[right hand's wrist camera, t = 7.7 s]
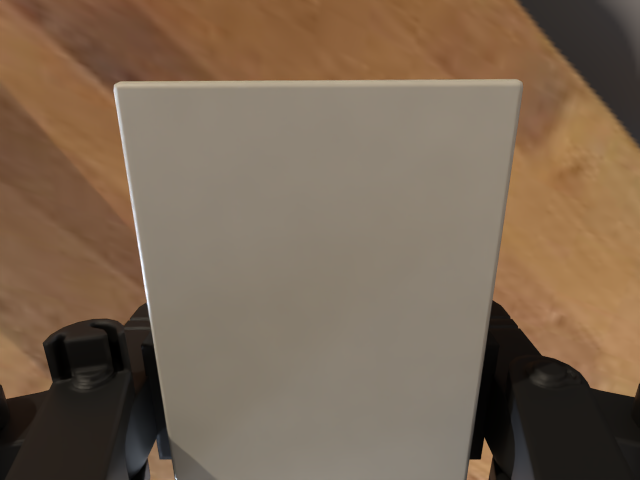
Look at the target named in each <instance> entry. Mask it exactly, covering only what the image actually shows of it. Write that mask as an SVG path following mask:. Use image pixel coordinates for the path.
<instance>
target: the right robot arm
mask: <svg viewBox="0 0 640 480" xmlns="http://www.w3.org/2000/svg"><path fill="white" fill-rule="evenodd" d="M43 346H44V350H45V354H46V358H47V362H48V365H49V369H50V373H51V377H52V381H53V383H52V385H51V387H50V389H49V390H48V391H44V392H40V393H35V394H30V395H25V396H20V397H15V398H10V399H6V398H5V394H4V391H3V388H2V386H1V385H0V480H150V470H149V464H148V458H147V457H148V455H149V453H150V451H151V449H152V447H153V444H154V442H155V440H157V446H158V452H159V458H160V459H172V457H171V451H170V444H169V438H168V432H167V425H166V419H165V413H164V406H163V400H162V394H161V387H160V381H159V375H158V368H157V362H156V356H155V349H154V343H153V337H152V330H151V324H150V317H149V311H148V305H147V303H145V304H143V305H142V306H140V307H139V308H138V309H137V311H136V312H135V313H134V314H133V316H132V317H131V318H130V321H128V322H127V323H126V324H125V325H124V326H123V325H122V324H121V323H119V322H118V321H115V320H110V319H91V320H86V321H81V322H77V323H74V324H72V325H69V326H66V327H63V328H62V329H60V330H58V331H56V332H55V333H53V334H51V335H50V336H49V337H48V338H47V339H46V340H45V341H44V342H43ZM484 437H485V439H486V442H487V444H488V446H489V448H490V450H491V452H492V454H493V458H492V464H491V469H490V475H489V480H640V384H639V386H638V389H637V392H636V396H635V397H630V396H625V395H620V394H615V393H610V392H605V391H600V390H596V389H593V388H590V386H589V384H588V382H587V381H586V380H585V378H584V377H583V376H582V375H581V373H580V372H578V371H577V370H575V369H574V368H572V367H571V366H570V365H568V364H566V363H563V362H561V361H559V360H556V359H554V358H549V357H545V356H542V355H541V354H540V353H539V351H538V350H537V349H536V348H535V347H534V345H533V344H532V343H531V342H530V340H529V339H528V338H527V337H526V335H525V334H524V333H523V332H522V331H521V329H518V326H517V324H516V323H515V322H514V321H513V319H510V316H509V315H508V313H507V312H506V311H505V310H504V308H503V307H502V306H501V305H499V304H498V303H496V302H494V301H493V300H492V306H491V313H490V320H489V327H488V334H487V341H486V348H485V355H484V361H483V368H482V375H481V382H480V389H479V396H478V403H477V410H476V417H475V424H474V431H473V437H472V444H471V451H470V458H469V459H481V454H482V448H483V442H484Z"/></svg>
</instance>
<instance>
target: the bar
mask: <svg viewBox="0 0 640 480" xmlns="http://www.w3.org/2000/svg"><path fill="white" fill-rule="evenodd" d="M522 92H523V83H522V82H521V81H519V80H517V79H471V80H298V81H125V82H118V83H116V84H115V85H114V95H115V102H116V108H117V114H118V121H119V127H120V133H121V140H122V146H123V152H124V159H125V165H126V171H127V178H128V184H129V191H130V197H131V203H132V210H133V216H134V222H135V229H136V235H137V241H138V248H139V254H140V260H141V267H142V273H143V279H144V286H145V292H146V298H147V305H148V311H149V317H150V324H151V330H152V337H153V343H154V349H155V356H156V362H157V368H158V375H159V381H160V387H161V394H162V400H163V406H164V413H165V419H166V425H167V432H168V438H169V444H170V451H171V457H172V463H173V470H174V476H175V480H466V479H467V472H468V465H469V458H470V451H471V444H472V437H473V431H474V424H475V417H476V410H477V403H478V396H479V389H480V382H481V375H482V368H483V361H484V355H485V348H486V341H487V334H488V327H489V320H490V313H491V306H492V299H493V292H494V285H495V278H496V272H497V265H498V258H499V251H500V244H501V237H502V230H503V223H504V216H505V209H506V202H507V195H508V189H509V182H510V175H511V168H512V161H513V154H514V147H515V140H516V133H517V126H518V119H519V112H520V106H521V99H522Z"/></svg>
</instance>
